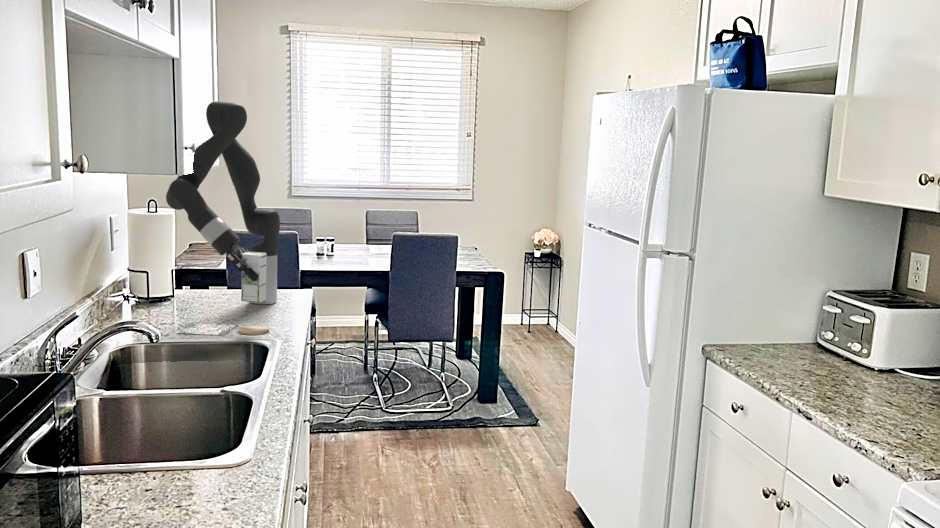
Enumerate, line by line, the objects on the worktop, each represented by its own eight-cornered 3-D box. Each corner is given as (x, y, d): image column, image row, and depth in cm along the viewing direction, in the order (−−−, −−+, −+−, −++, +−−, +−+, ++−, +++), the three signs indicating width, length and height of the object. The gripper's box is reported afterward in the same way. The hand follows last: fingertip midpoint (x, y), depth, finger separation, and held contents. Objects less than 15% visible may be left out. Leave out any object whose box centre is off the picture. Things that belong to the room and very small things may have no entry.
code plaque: (192, 322, 228) (192, 322, 227) (237, 324, 228) (237, 324, 228) (174, 333, 214) (174, 333, 214) (223, 335, 214) (223, 335, 214)
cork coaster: (243, 327, 225) (243, 325, 225) (272, 328, 226) (272, 326, 226) (234, 334, 217) (234, 332, 216) (265, 335, 217) (265, 333, 217)
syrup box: (266, 299, 222) (267, 252, 220) (259, 303, 217) (259, 254, 214) (248, 298, 223) (248, 250, 221) (240, 301, 217) (241, 253, 215)
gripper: (221, 229, 209) (262, 273, 211) (236, 225, 223) (274, 265, 226) (202, 247, 210) (243, 290, 212) (218, 241, 224) (257, 281, 226)
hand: (259, 277), depth 219 cm, fingers closed on syrup box, 6 cm apart
